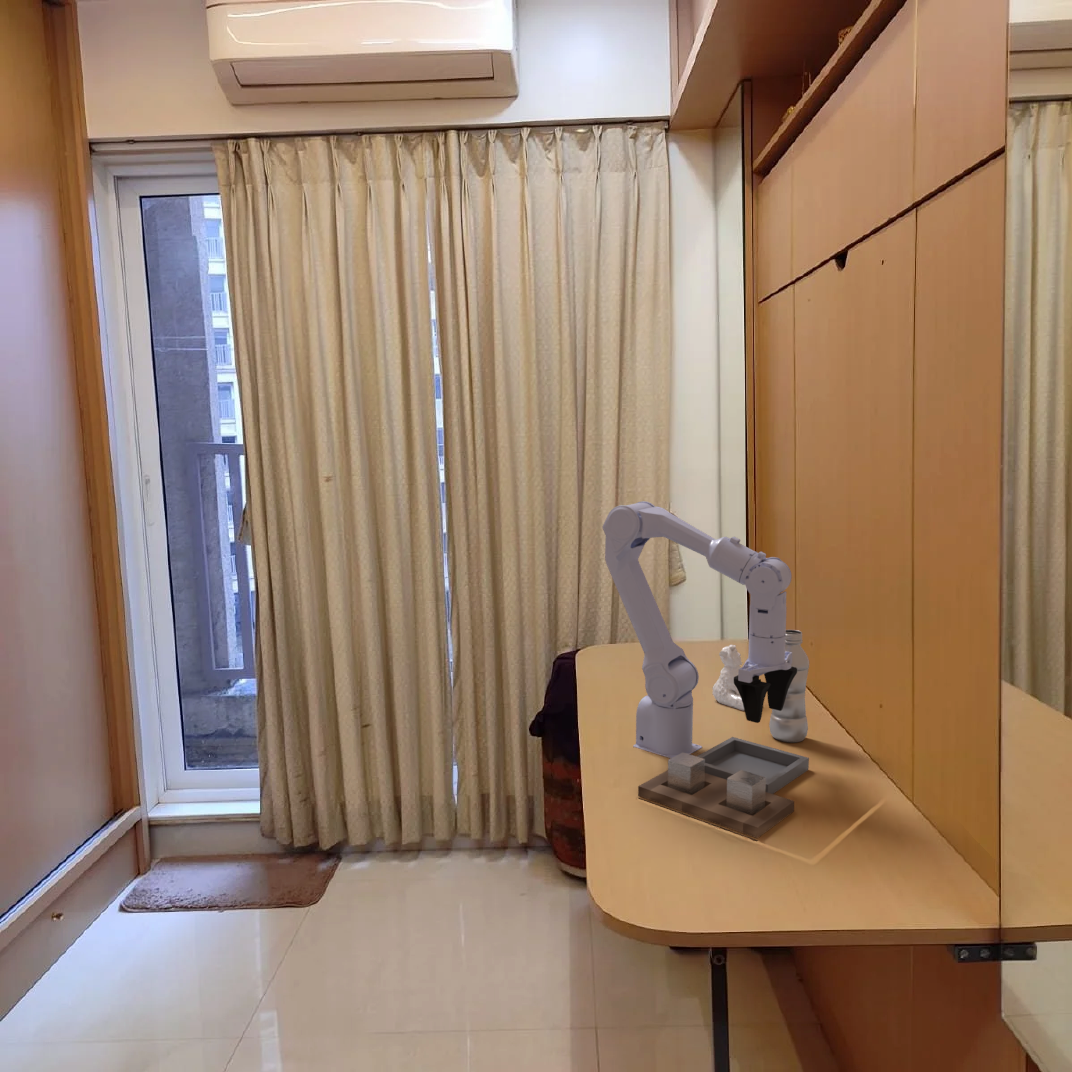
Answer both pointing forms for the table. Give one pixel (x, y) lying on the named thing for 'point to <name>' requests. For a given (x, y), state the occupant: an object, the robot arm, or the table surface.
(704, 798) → the wooden board with recesses
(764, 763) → the tray
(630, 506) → the robot arm
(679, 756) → the block
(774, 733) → the plastic bottle
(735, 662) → the sitting furry creature
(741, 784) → the block
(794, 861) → the table surface
